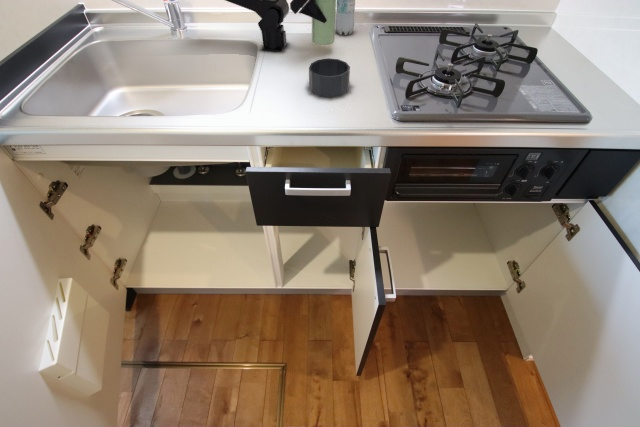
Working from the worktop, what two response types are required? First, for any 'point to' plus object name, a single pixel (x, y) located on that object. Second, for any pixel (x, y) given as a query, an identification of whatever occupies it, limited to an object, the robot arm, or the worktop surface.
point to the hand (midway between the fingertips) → (328, 17)
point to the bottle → (345, 16)
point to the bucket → (329, 77)
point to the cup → (324, 31)
